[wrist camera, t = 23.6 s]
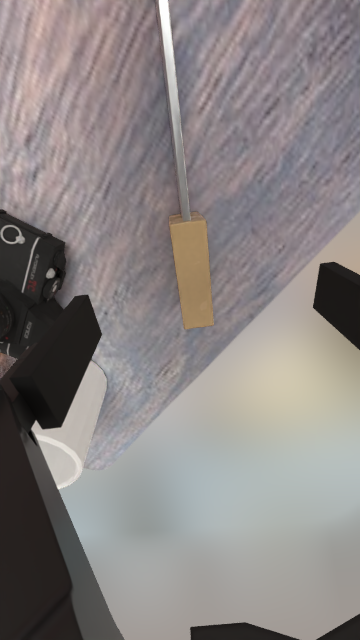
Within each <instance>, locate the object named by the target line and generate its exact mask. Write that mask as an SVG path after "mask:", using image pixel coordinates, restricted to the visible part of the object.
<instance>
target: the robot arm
mask: <svg viewBox="0 0 360 640" xmlns="http://www.w3.org/2000/svg"><path fill="white" fill-rule="evenodd" d="M313 308H314V309H315V310H316V311H317V312H318V313H320V314H321V315H322V316H323V317H324V318H325V319H326V320H327V321H328V322H329V323H330V324H332V325H333V326H334V327H335V328H336V329H337V330H338V331H339V332H340V333H341V334H343V335H344V336H345V337H346V338H347V339H348V340H349V341H350V342H351V343H352V344H354V345H355V346H356V347H357V348H358V349H359V350H360V275H359V274H357V273H355V272H353V271H351V270H349V269H347V268H345V267H343V266H341V265H339V264H338V263H335V262H329V263H322V264H320V268H319V274H318V280H317V286H316V292H315V298H314V304H313ZM101 336H102V333H101V330H100V327H99V324H98V322H97V319H96V316H95V313H94V310H93V307H92V304H91V301H90V299H89V296H88V295H81V296H75V297H74V298H73V300H72V301H71V302H70V303H69V305H68V306H67V307H66V308H65V309H64V311H63V312H62V313H61V314H60V316H59V317H58V318H57V319H56V321H55V322H54V323H53V324H52V326H51V327H50V328H49V329H48V331H47V332H46V333H45V334H44V336H43V337H42V338H41V339H40V341H39V342H38V343H34V344H33V345H32V346H30V347H29V348H28V349H26V350H25V351H24V352H23V353H22V354H21V356H20V357H19V359H18V360H16V362H15V363H14V364H13V366H11V368H10V369H9V370H8V371H7V372H6V373H5V375H4V376H3V377H2V378H1V379H0V640H124V638H123V636H122V634H121V633H120V631H119V629H118V628H117V626H116V624H115V622H114V620H113V618H112V615H111V614H110V611H109V609H108V606H107V604H106V601H105V599H104V597H103V594H102V592H101V590H100V587H99V585H98V583H97V580H96V578H95V575H94V573H93V571H92V568H91V566H90V564H89V561H88V559H87V557H86V554H85V552H84V549H83V547H82V545H81V542H80V540H79V538H78V535H77V533H76V531H75V528H74V526H73V524H72V521H71V519H70V516H69V514H68V512H67V509H66V507H65V505H64V502H63V500H62V498H61V495H60V493H59V490H58V488H57V486H56V483H55V481H54V479H53V476H52V474H51V471H50V469H49V467H48V464H47V462H46V460H45V457H44V455H43V453H42V450H41V448H40V445H39V443H38V441H37V438H36V436H35V434H34V432H33V431H32V430H31V428H32V426H33V425H34V423H35V421H37V422H38V424H39V425H40V427H41V428H42V430H44V429H53V428H61V427H62V425H63V422H64V420H65V418H66V416H67V413H68V411H69V409H70V406H71V404H72V402H73V400H74V397H75V395H76V393H77V390H78V388H79V386H80V384H81V381H82V379H83V377H84V374H85V372H86V370H87V368H88V365H89V363H90V361H91V358H92V356H93V354H94V352H95V349H96V347H97V345H98V342H99V340H100V338H101ZM190 630H191V640H299V639H296V638H293V637H289V636H287V635H283V634H280V633H277V632H274V631H271V630H267V629H264V628H261V627H258V626H255V625H252V624H248V623H232V624H221V625H209V626H197V627H191V628H190ZM317 640H360V614H359V615H357V616H355V617H354V618H352V619H350V620H349V621H347V622H345V623H343V624H342V625H340V626H338V627H337V628H335V629H333V630H332V631H330V632H328V633H327V634H325V635H323V636H322V637H320V638H318V639H317Z"/></svg>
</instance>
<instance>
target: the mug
mask: <svg viewBox="0 0 360 640" xmlns="http://www.w3.org/2000/svg"><path fill="white" fill-rule="evenodd" d="M106 389H107V379H106V377H105V375H104V373H103V371H102V369H101V368H100V367H99V366H98V365H97V364H96V363H94V362H93V361H90V363H89V365H88V368H87V370H86V372H85V374H84V377H83V379H82V381H81V384H80V386H79V388H78V390H77V393H76V395H75V397H74V400H73V402H72V404H71V406H70V409H69V411H68V413H67V416H66V418H65V420H64V422H63V425H62V427H61V428H53V429H44V430H42V428H41V427H40V425H39V424H38V422H37V421H35V423H34V425H33V426H32V428H31V430H32V431H33V432H34V434H35V436H36V438H37V441H38V443H39V445H40V448H41V450H42V453H43V455H44V457H45V460H46V462H47V464H48V467H49V469H50V471H51V474H52V476H53V479H54V481H55V483H56V486H57V488H58V489H61V488H64V487H66V486H69V485H70V484H72V483H73V482H74V481H75V480H77V479H78V478H79V476H80V474H81V472H82V470H83V466H84V463H85V460H86V456H87V453H88V450H89V446H90V443H91V440H92V436H93V433H94V430H95V426H96V423H97V420H98V416H99V413H100V409H101V406H102V403H103V399H104V396H105V393H106Z"/></svg>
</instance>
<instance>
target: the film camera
mask: <svg viewBox="0 0 360 640" xmlns="http://www.w3.org/2000/svg"><path fill="white" fill-rule="evenodd" d="M64 248H65V242H63V241H61V240H59V239H57V238H55V237H53V236H52V234H50V233H47V234H46V233H45V232H43V231H41V230H39V229H37V228H35V227H33V226H31V225H29V224H27V223H24V222H22V221H20V220H18V219H16V218H14V217H12V216H10V215H8V214H7V213H6V211H4V210H0V352H1V353H3V354H6V355H9V356H11V357H14V358H17V359H19V357H20V356H21V354H22V353H23V352H24V351H25V350H26V349H28V348H29V347H30V346H32V345H33V344H34V343H38V342H39V341H40V339H41V338H42V337H43V336H44V334H45V333H46V332H47V331H48V329H49V328H50V327H51V326H52V324H53V323H54V322H55V321H56V319H57V318H58V317H59V316H60V314H61V313H62V312H63V311H64V310H63V309H62V307H61V306H60V305H59V304H58V303H57V301H56V300H55V299H54V298H53V297H54V295H55V294H56V292H57V291H58V289H59V290H60V289H61V287H62V284H63V280H64V277H65V274H66V273H65V272H64V267H65V264H66V259H65V256H64ZM58 271H59V272H58ZM57 274H58V275H57Z"/></svg>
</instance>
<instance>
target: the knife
mask: <svg viewBox="0 0 360 640" xmlns="http://www.w3.org/2000/svg"><path fill="white" fill-rule="evenodd" d="M155 5H156V13H157V21H158V30H159V38H160V47H161V55H162V63H163V72H164V80H165V89H166V97H167V105H168V114H169V122H170V130H171V139H172V147H173V156H174V164H175V172H176V181H177V189H178V198H179V206H180V214H177V215H170V216H169V227H170V234H171V241H172V248H173V255H174V262H175V269H176V276H177V283H178V290H179V297H180V304H181V311H182V318H183V325H184V329H191V328H198V327H206V326H213V325H214V322H213V308H212V294H211V280H210V266H209V252H208V238H207V224H206V220H205V219H204V218H203V217H202V216H201V215H200V214H199V213H198V212H191V213H190V207H189V197H188V187H187V177H186V167H185V157H184V147H183V137H182V127H181V117H180V107H179V98H178V88H177V78H176V68H175V58H174V48H173V38H172V28H171V18H170V8H169V0H155Z"/></svg>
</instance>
